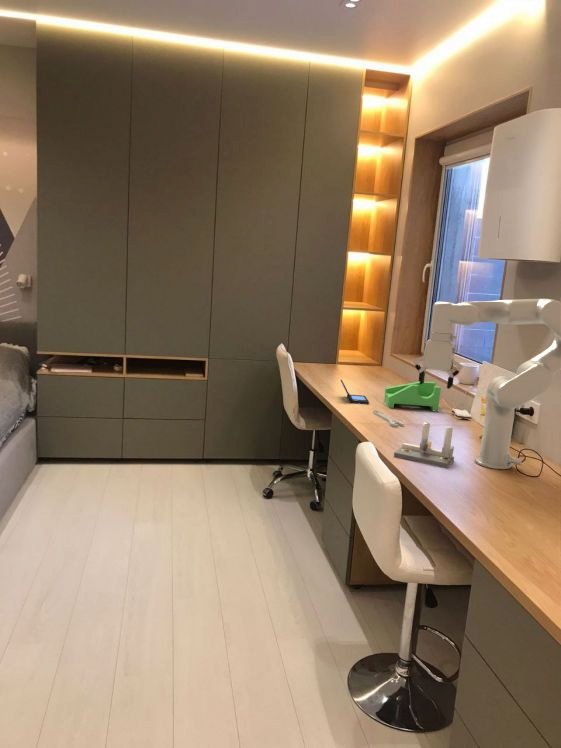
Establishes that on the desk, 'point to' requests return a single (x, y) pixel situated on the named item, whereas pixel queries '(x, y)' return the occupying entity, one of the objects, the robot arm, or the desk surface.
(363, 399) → the handheld game console
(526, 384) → the robot arm
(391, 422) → the adjustable wrench
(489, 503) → the desk surface
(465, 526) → the desk surface
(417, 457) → the board
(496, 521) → the desk surface
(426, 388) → the ramp block with notch
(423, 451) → the post
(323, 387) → the desk surface
